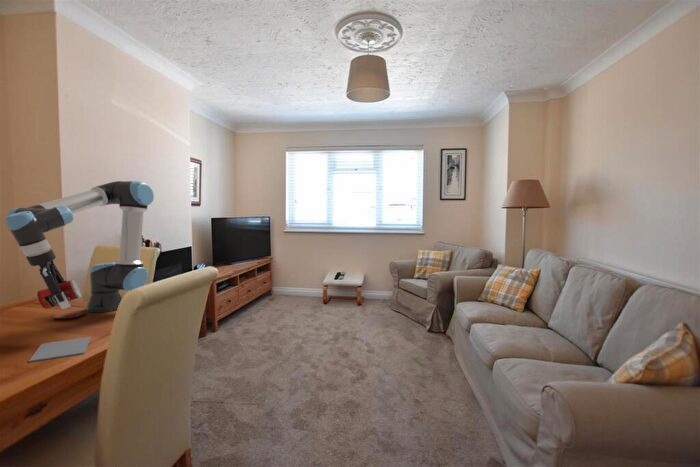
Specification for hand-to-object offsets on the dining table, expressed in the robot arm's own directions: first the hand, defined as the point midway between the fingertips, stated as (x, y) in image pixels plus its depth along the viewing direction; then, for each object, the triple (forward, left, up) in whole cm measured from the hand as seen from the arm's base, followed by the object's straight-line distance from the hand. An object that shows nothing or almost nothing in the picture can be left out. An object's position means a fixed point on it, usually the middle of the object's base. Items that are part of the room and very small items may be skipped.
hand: (67, 303), depth 129 cm
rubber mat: (+8, +17, -12) cm, 22 cm away
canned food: (+7, -3, +2) cm, 8 cm away
